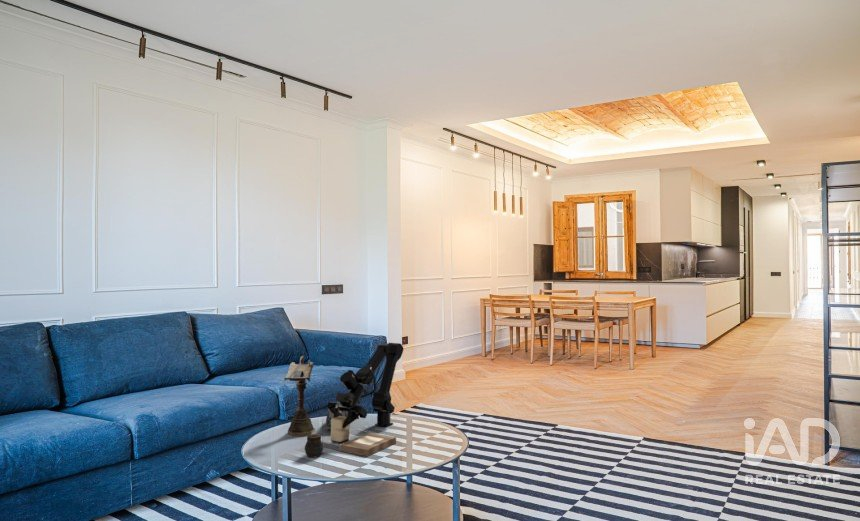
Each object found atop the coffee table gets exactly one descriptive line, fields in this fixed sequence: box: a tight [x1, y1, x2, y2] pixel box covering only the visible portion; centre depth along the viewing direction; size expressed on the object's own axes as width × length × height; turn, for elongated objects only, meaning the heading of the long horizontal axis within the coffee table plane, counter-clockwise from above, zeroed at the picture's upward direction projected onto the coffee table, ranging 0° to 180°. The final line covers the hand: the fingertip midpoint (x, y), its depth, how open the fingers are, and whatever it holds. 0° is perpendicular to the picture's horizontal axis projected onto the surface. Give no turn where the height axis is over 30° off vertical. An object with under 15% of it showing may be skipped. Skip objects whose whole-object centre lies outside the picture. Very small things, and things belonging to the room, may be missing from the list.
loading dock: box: [339, 432, 397, 457], centre depth 244 cm, size 20×14×3 cm
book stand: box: [282, 355, 316, 437], centre depth 263 cm, size 17×13×35 cm
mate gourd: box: [304, 430, 324, 458], centre depth 233 cm, size 7×8×10 cm
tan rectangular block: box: [330, 416, 350, 445], centre depth 251 cm, size 6×5×10 cm
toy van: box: [325, 401, 348, 431], centre depth 279 cm, size 11×25×10 cm, turn 1°
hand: (338, 426), depth 250 cm, fingers closed on tan rectangular block, 5 cm apart
